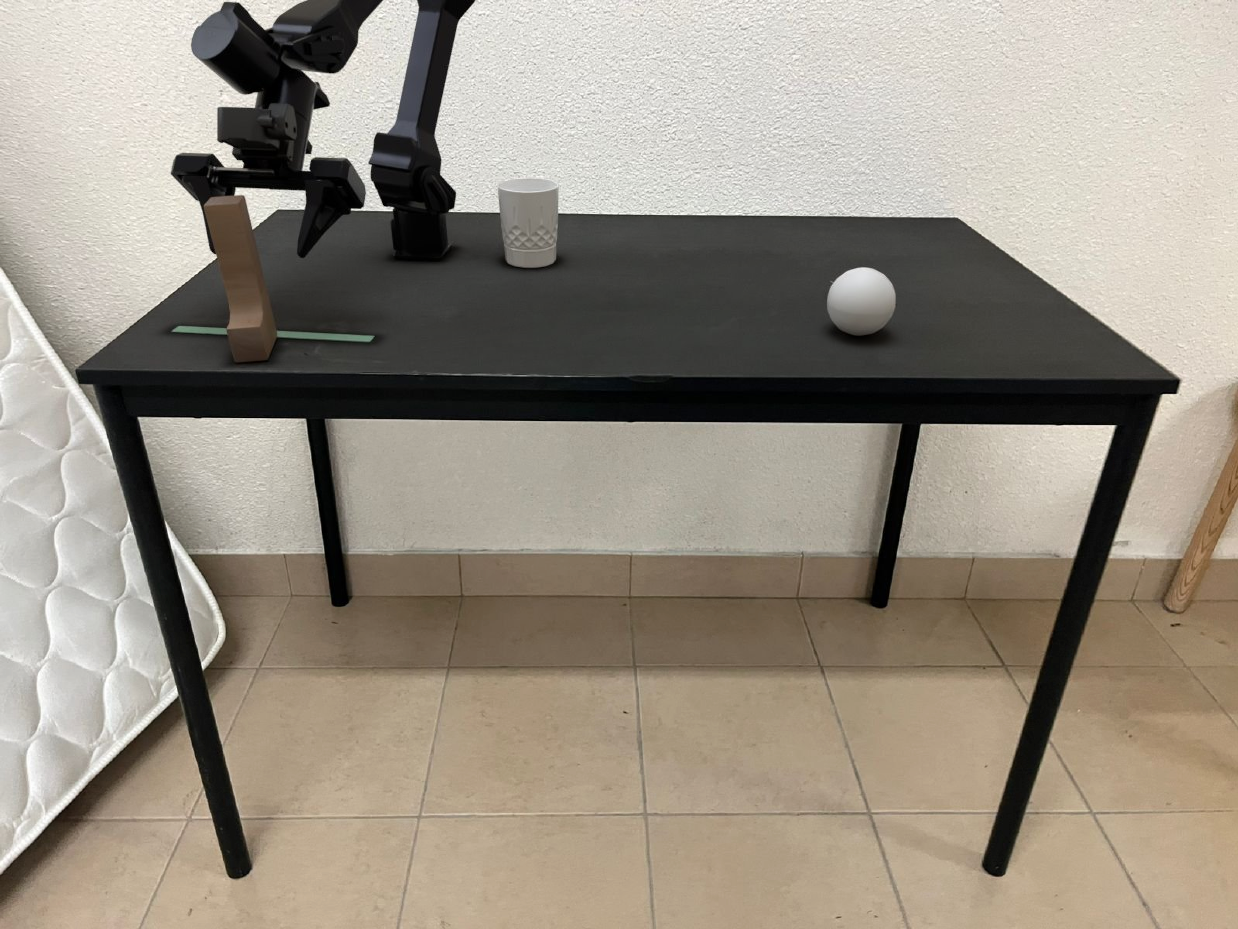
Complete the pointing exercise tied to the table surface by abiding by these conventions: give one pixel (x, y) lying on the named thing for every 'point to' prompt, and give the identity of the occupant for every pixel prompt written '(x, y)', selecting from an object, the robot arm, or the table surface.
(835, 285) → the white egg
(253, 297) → the wooden block
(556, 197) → the white cup
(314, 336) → the tape strip
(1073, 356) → the table surface
